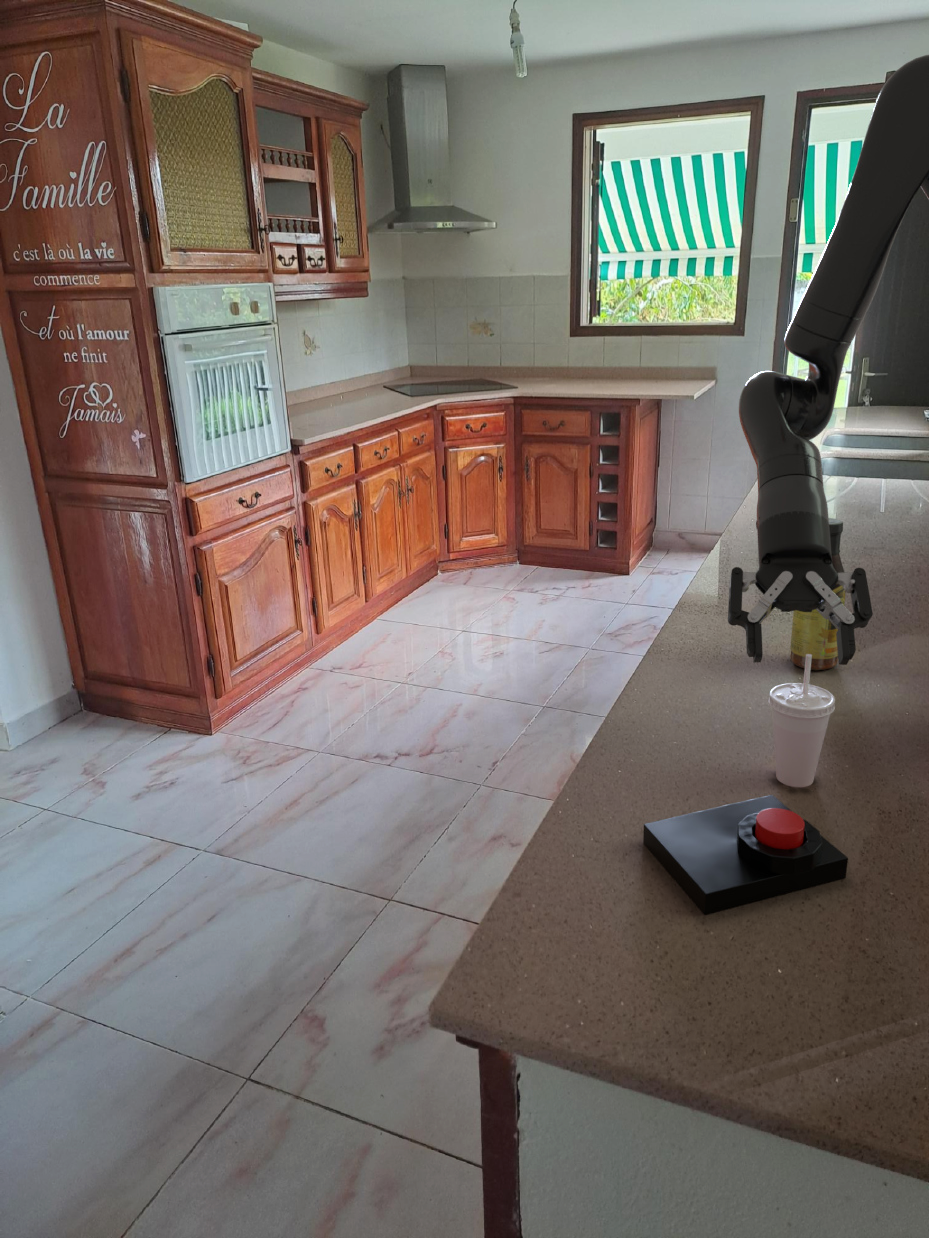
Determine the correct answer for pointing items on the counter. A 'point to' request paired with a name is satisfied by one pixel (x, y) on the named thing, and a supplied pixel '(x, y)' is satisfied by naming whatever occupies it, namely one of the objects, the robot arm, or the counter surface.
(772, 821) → the timer button
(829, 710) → the smoothie
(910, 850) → the counter surface
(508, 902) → the counter surface
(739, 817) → the push button box
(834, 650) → the sauce bottle
